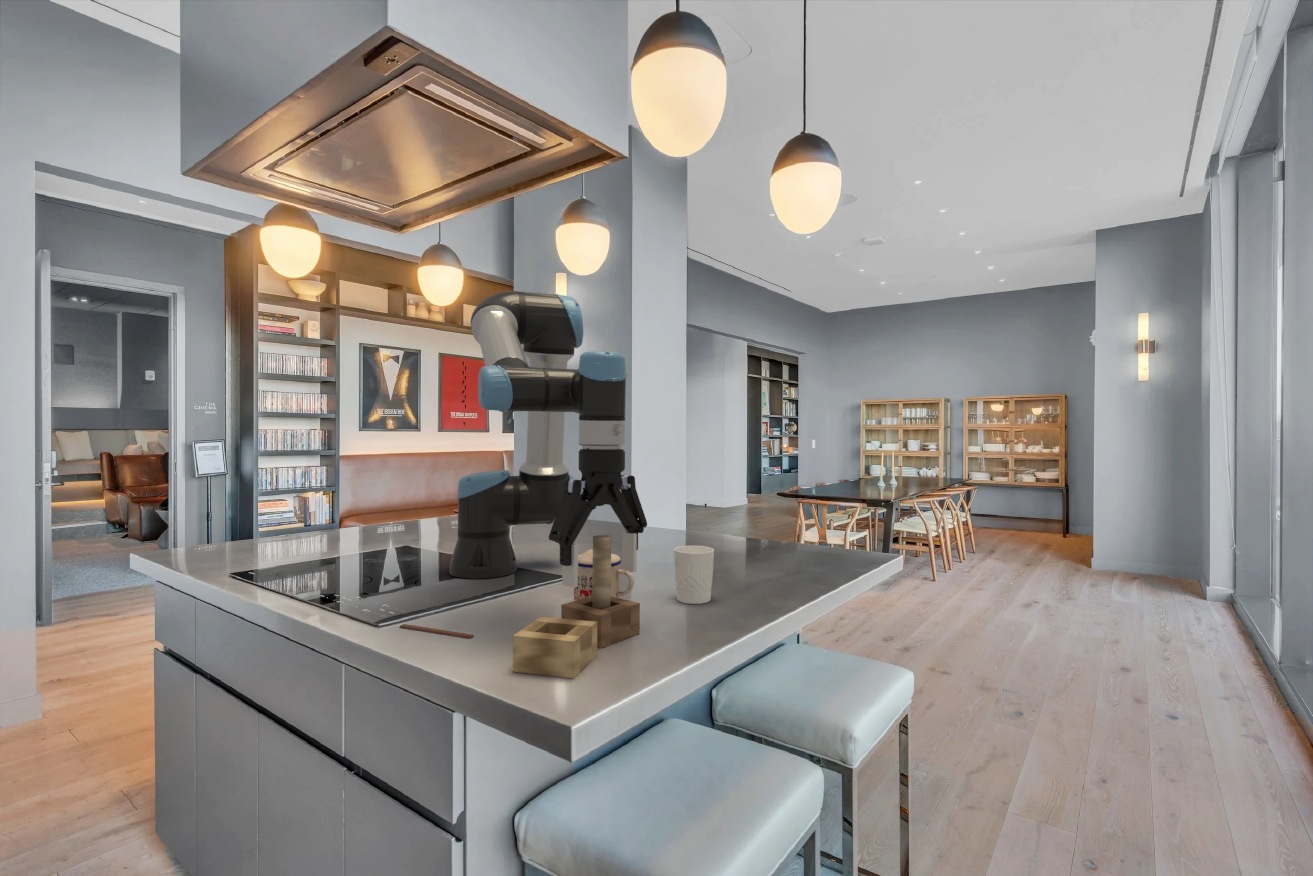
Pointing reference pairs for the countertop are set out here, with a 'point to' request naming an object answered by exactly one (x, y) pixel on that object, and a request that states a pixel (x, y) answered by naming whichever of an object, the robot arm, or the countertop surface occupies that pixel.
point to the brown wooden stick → (437, 631)
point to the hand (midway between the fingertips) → (601, 578)
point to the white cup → (693, 573)
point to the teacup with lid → (587, 570)
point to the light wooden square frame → (555, 647)
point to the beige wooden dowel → (601, 572)
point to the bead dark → (606, 618)
